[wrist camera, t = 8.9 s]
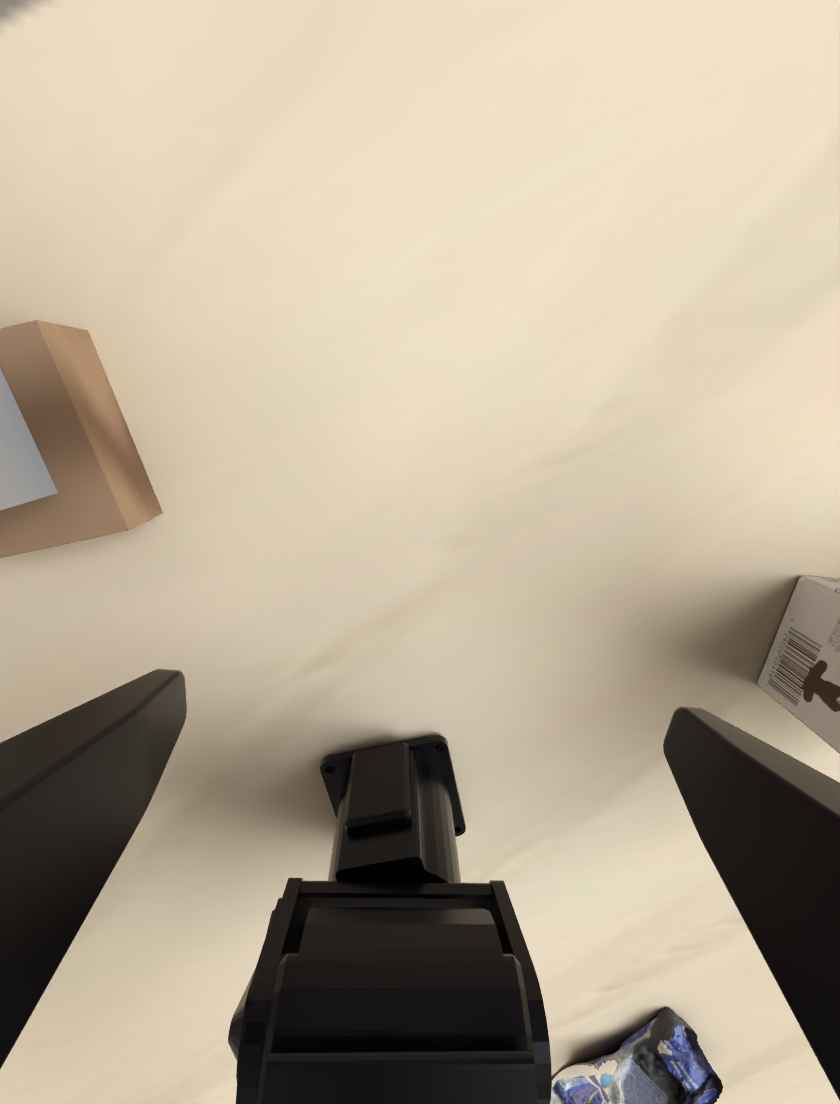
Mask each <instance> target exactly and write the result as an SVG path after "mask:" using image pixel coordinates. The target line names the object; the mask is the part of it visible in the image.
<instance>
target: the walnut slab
mask: <svg viewBox="0 0 840 1104" xmlns="http://www.w3.org/2000/svg"><path fill="white" fill-rule="evenodd" d="M0 368H1V370H2V372H3V375H4V377H5V379H6V381H7V383H8V385H9V388H10V390H11V392H12V394H13V396H14V398H15V401H16V403H17V405H18V407H19V409H20V411H21V414H22V416H23V418H24V420H25V422H26V424H27V426H28V429H29V431H30V433H31V435H32V437H33V439H34V442H35V444H36V446H37V448H38V450H39V452H40V455H41V457H42V459H43V461H44V463H45V465H46V468H47V470H48V472H49V474H50V476H51V478H52V481H53V483H54V485H55V487H56V489H57V491H58V493H56V494H53V495H50V496H46V497H43V498H40V499H37V500H33V501H30V502H27V503H23V504H20V505H17V506H14V507H10V508H7V509H4V510H0V558H3V557H7V556H12V555H17V554H21V553H26V552H30V551H35V550H40V549H44V548H49V547H53V546H58V545H62V544H67V543H72V542H76V541H81V540H85V539H90V538H95V537H99V536H104V535H108V534H113V533H118V532H122V531H127V530H130V529H132V528H134V527H136V526H138V525H140V524H142V523H144V522H146V521H148V520H150V519H152V518H154V517H155V516H157V515H159V514H161V513H163V512H162V510H161V507H160V505H159V503H158V500H157V498H156V495H155V493H154V490H153V488H152V486H151V483H150V481H149V478H148V476H147V473H146V471H145V469H144V466H143V464H142V461H141V459H140V456H139V454H138V451H137V449H136V447H135V444H134V442H133V439H132V437H131V434H130V432H129V430H128V427H127V425H126V422H125V420H124V417H123V415H122V413H121V410H120V408H119V405H118V403H117V400H116V398H115V395H114V393H113V391H112V388H111V386H110V383H109V381H108V378H107V376H106V374H105V371H104V369H103V366H102V364H101V361H100V359H99V356H98V354H97V352H96V349H95V347H94V344H93V342H92V339H91V337H90V335H89V332H88V331H87V330H82V329H77V328H72V327H67V326H61V325H56V324H51V323H46V322H41V321H32V322H27V323H23V324H19V325H14V326H10V327H6V328H2V329H0Z"/></svg>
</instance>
